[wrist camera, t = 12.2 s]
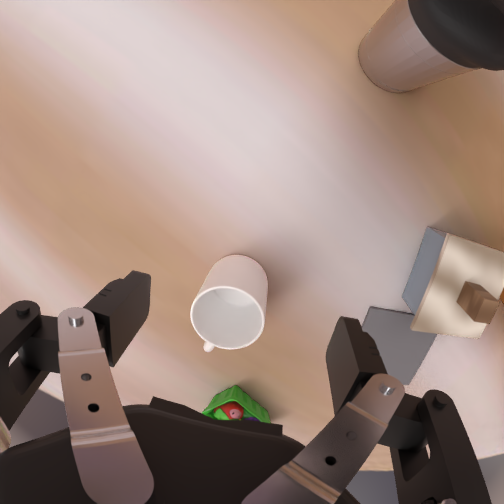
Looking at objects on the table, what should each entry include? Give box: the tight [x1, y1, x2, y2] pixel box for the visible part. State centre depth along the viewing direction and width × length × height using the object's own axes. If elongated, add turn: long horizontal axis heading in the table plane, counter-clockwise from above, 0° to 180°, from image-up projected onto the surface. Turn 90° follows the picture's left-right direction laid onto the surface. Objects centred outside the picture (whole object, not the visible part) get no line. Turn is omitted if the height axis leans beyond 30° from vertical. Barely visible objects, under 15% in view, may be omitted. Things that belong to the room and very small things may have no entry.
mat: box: [362, 307, 437, 385], centre depth 45 cm, size 14×14×1 cm
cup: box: [190, 255, 268, 352], centre depth 39 cm, size 8×12×10 cm
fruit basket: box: [202, 385, 271, 423], centre depth 46 cm, size 11×9×11 cm
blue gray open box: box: [402, 227, 447, 315], centre depth 37 cm, size 11×11×7 cm
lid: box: [410, 233, 504, 339], centre depth 31 cm, size 13×13×6 cm
